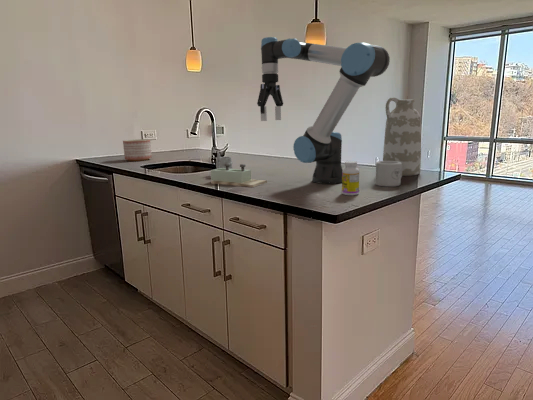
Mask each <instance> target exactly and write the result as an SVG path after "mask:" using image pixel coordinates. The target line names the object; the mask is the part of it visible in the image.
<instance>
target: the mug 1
mask: <svg viewBox="0 0 533 400" xmlns="http://www.w3.org/2000/svg"><path fill="white" fill-rule="evenodd" d="M215 161H216V162H215V167H216V168H215V169H219V168H226V166H224V164H225V163H230V166H229V169H233V161H232V156H221V154H220V152H217V156H216V160H215Z"/></svg>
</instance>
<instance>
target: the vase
mask: <svg viewBox="0 0 533 400" xmlns="http://www.w3.org/2000/svg"><path fill="white" fill-rule="evenodd" d="M391 102H394V103H395V108H393V109H392V110H390V104H391ZM414 102H415V99H399V98H397V97H394V96H392V97H389V98H388V99H387V101H386V103H385V115H386V120H385V121H386V122H385V129H384V140H383V154H382V161H398V162H401V163H402V177H409V176H410V177H412V176H418V175H420V173H421V168H422V167H421V166H422V165H421V164H422V163H421V162H422V118H421V117H422V116H421V114H420V113H419V111H418V110H417V109H415V108H414V107H413V106H414V105H413V104H414Z"/></svg>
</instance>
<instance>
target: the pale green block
mask: <svg viewBox="0 0 533 400" xmlns="http://www.w3.org/2000/svg"><path fill="white" fill-rule="evenodd" d="M251 179H252V170H251V169H244V171H241V168H232V169H229V170H226V168H219V169H216V168H215V169H211V170H210V180H211V181H223V182H235V183H244V182H247V181H250V180H251ZM211 181H210V182H211Z"/></svg>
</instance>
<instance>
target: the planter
mask: <svg viewBox="0 0 533 400" xmlns="http://www.w3.org/2000/svg"><path fill="white" fill-rule="evenodd" d="M122 145H123V154H124V155H123V156H124V160H127V161H128V162H145V161H148V160H150V159H151V158H152V147H151V139H147V138H145V139H144V138H140V139H139V138H138V139H126V140H125V139H124V140H122ZM144 160H145V161H144Z"/></svg>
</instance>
